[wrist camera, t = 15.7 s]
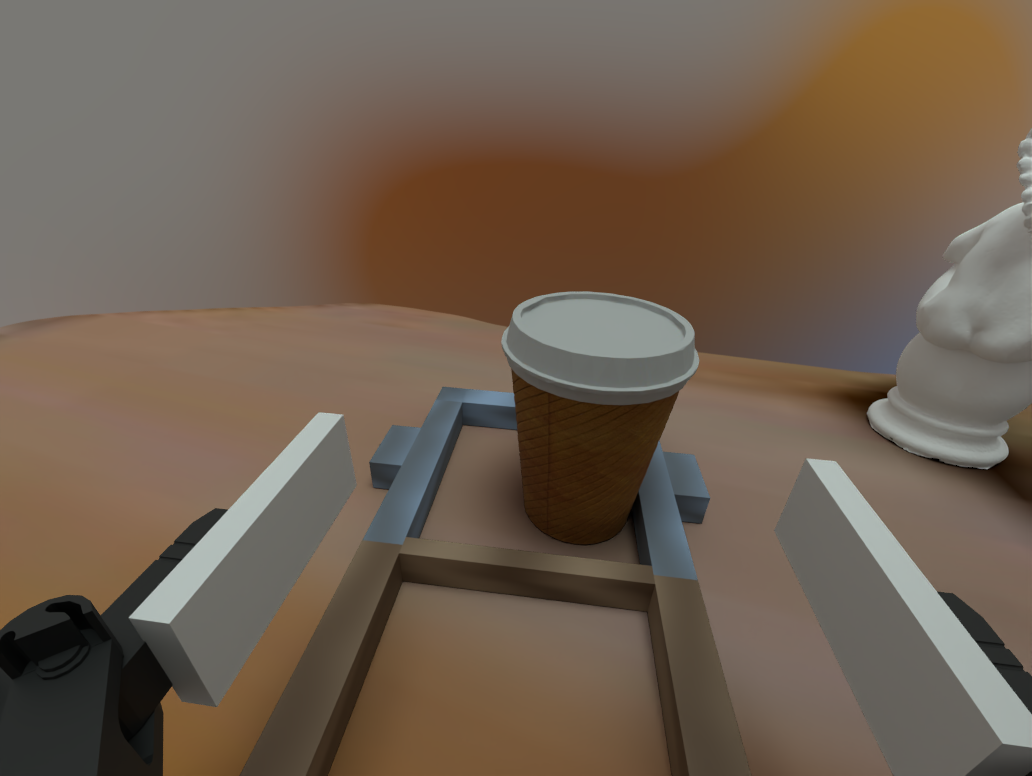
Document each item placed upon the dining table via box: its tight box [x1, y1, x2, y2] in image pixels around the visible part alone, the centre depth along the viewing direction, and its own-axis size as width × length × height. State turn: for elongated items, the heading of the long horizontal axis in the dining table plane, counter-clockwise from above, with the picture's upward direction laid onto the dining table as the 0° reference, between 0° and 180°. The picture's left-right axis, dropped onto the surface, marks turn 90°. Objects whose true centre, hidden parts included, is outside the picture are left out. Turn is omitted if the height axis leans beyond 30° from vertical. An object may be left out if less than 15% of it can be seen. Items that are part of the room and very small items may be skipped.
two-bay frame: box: [240, 387, 751, 776], centre depth 22 cm, size 20×31×2 cm, turn 174°
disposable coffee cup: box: [502, 292, 699, 544], centre depth 25 cm, size 10×10×12 cm
